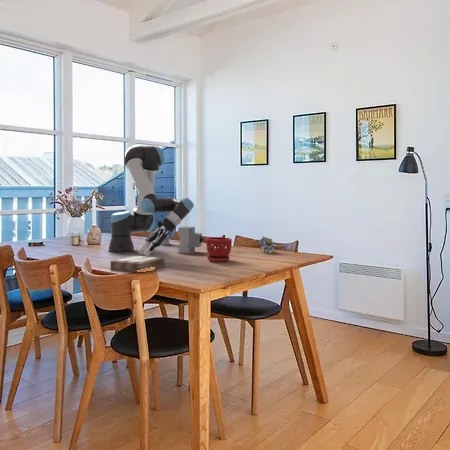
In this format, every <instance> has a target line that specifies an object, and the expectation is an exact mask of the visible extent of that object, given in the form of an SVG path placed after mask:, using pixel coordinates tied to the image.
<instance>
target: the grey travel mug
mask: <svg viewBox="0 0 450 450" xmlns="http://www.w3.org/2000/svg"><path fill="white" fill-rule="evenodd" d="M161 222H162V221H157V227H156V229H157V228H158V227H159V228H161V227H162V224H161ZM174 234H175V229H174V230H173V231H172V234H171V236H170V233H169V234H168V235H167V236H166V238H165V239H164V241H163V242H162V243H161V245H160V246H168V245H171V244H170V239H172V237H173V236H174Z"/></svg>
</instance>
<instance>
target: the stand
mask: <svg viewBox="0 0 450 450" xmlns="http://www.w3.org/2000/svg"><path fill="white" fill-rule="evenodd" d="M150 267H155V268H156V269H160V268H164V267H165V258H164V257H154V256H150V257H146V256H141V255H132V256H127V257H122V258H118V259H114V260H113V259H112V260H110V270H115V271H124V272H131V271H137V270H141V269H145V268H150ZM156 269H155V270H156Z"/></svg>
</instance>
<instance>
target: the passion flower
mask: <svg viewBox="0 0 450 450" xmlns="http://www.w3.org/2000/svg"><path fill="white" fill-rule="evenodd" d="M256 243H257V244H258V246H259V249H260V250H263V252H264V253H267V254H269V255H270V254H271V251H272V252H275V247H277V244H275V242H274V241H273V240H272V238H270V237H265V236H264V235H263V236H262V238H261V239H257V240H256Z"/></svg>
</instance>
